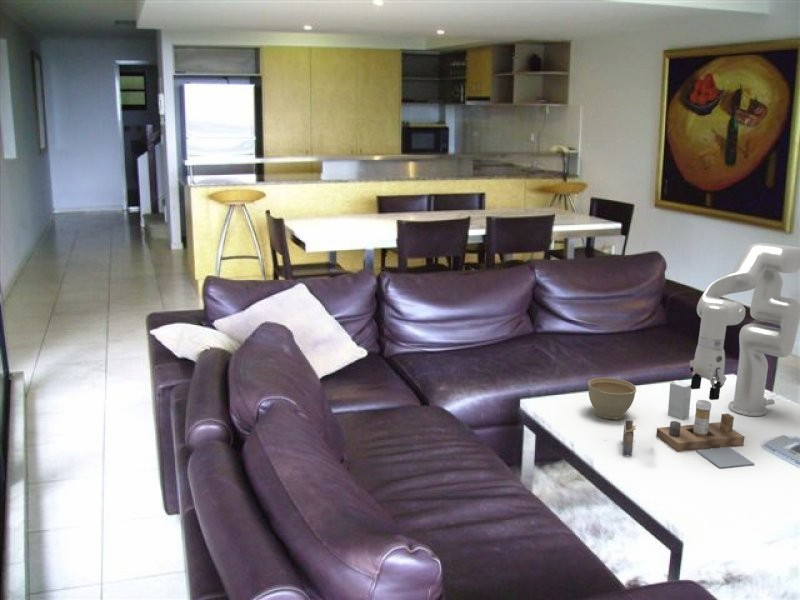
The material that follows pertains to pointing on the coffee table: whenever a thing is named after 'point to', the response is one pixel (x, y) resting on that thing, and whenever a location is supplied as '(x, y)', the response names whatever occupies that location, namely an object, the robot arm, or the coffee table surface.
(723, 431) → the wooden peg board
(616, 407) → the planter bowl
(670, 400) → the skincare box
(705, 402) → the sprinkles bottle
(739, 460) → the pad
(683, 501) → the coffee table surface
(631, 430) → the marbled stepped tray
